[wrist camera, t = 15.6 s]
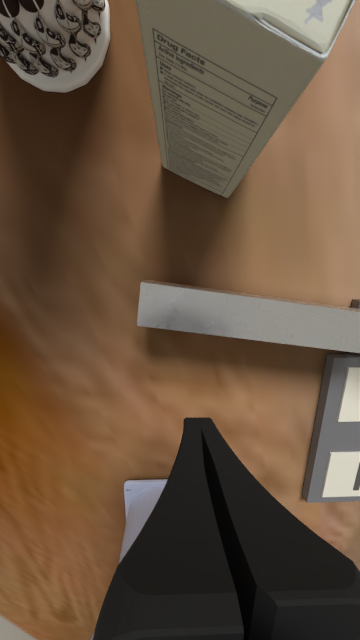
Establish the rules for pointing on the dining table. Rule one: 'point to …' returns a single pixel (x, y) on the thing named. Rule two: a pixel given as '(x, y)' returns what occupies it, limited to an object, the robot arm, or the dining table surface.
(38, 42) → the decorative candle
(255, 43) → the skincare box
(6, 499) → the dining table surface
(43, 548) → the dining table surface
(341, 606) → the robot arm
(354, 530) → the dining table surface
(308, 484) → the label board
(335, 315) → the swing arm
